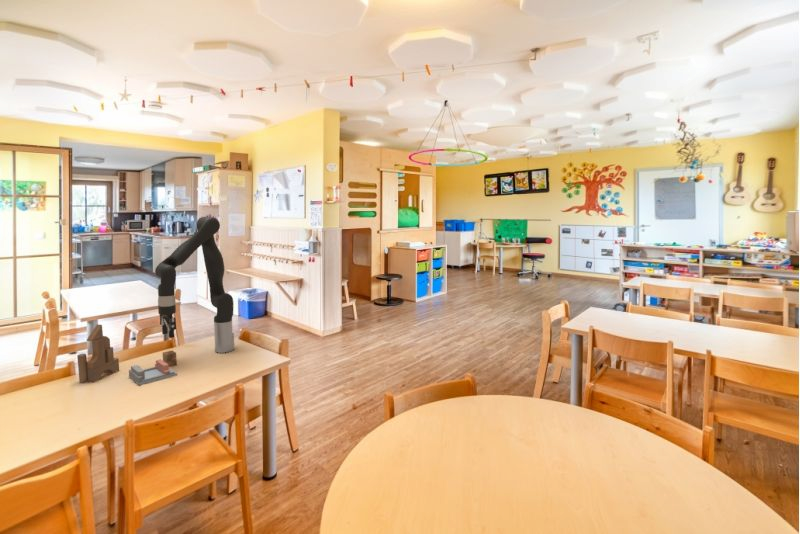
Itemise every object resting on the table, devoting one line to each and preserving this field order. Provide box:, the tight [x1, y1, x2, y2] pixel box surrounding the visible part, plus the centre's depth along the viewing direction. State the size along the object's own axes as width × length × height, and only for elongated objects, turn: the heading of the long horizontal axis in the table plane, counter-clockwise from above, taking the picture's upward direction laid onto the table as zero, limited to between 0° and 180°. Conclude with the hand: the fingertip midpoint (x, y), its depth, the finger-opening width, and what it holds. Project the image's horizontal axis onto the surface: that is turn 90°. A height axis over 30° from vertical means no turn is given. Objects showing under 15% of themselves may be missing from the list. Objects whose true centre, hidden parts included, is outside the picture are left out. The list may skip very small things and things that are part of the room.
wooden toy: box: [77, 324, 120, 384], centre depth 183 cm, size 15×7×25 cm, turn 172°
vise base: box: [128, 364, 178, 386], centre depth 186 cm, size 16×14×6 cm
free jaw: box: [154, 359, 170, 374], centre depth 189 cm, size 2×13×4 cm, turn 50°
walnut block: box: [162, 350, 178, 368], centre depth 200 cm, size 4×5×6 cm
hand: (168, 335), depth 198 cm, fingers open, 8 cm apart
